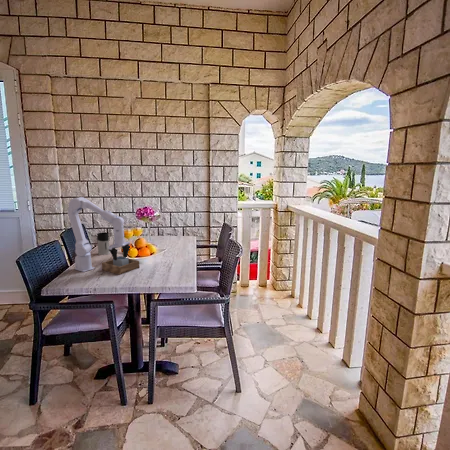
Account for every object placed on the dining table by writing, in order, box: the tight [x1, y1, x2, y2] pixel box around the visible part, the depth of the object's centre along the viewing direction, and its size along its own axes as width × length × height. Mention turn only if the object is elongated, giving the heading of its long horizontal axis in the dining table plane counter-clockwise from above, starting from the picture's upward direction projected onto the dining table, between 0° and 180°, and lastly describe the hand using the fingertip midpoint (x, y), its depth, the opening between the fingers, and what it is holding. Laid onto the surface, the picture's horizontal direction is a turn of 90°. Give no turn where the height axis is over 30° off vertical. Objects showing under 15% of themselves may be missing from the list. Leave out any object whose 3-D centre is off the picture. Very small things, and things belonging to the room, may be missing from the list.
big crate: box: [101, 258, 140, 275], centre depth 180 cm, size 16×15×4 cm
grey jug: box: [96, 231, 115, 256], centre depth 213 cm, size 9×14×15 cm, turn 71°
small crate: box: [112, 255, 129, 267], centre depth 180 cm, size 8×5×6 cm, turn 59°
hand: (120, 258), depth 180 cm, fingers open, 7 cm apart
